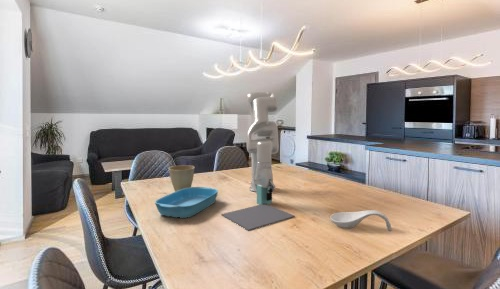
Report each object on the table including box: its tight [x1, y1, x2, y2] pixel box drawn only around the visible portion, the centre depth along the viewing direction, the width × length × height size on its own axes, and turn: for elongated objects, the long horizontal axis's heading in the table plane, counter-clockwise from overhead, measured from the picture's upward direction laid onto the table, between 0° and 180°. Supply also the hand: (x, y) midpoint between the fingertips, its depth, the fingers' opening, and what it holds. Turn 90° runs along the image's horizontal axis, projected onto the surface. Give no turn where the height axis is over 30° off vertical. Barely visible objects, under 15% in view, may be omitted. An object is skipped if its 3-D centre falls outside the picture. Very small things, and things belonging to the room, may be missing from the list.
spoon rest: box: [329, 209, 392, 232], centre depth 120 cm, size 24×12×7 cm, turn 75°
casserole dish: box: [154, 186, 219, 219], centre depth 145 cm, size 37×22×7 cm, turn 160°
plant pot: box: [168, 164, 196, 192], centre depth 170 cm, size 15×15×16 cm
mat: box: [221, 204, 296, 232], centre depth 133 cm, size 22×26×1 cm
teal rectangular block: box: [256, 185, 273, 205], centre depth 151 cm, size 4×7×10 cm, turn 125°
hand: (264, 197), depth 151 cm, fingers open, 7 cm apart
